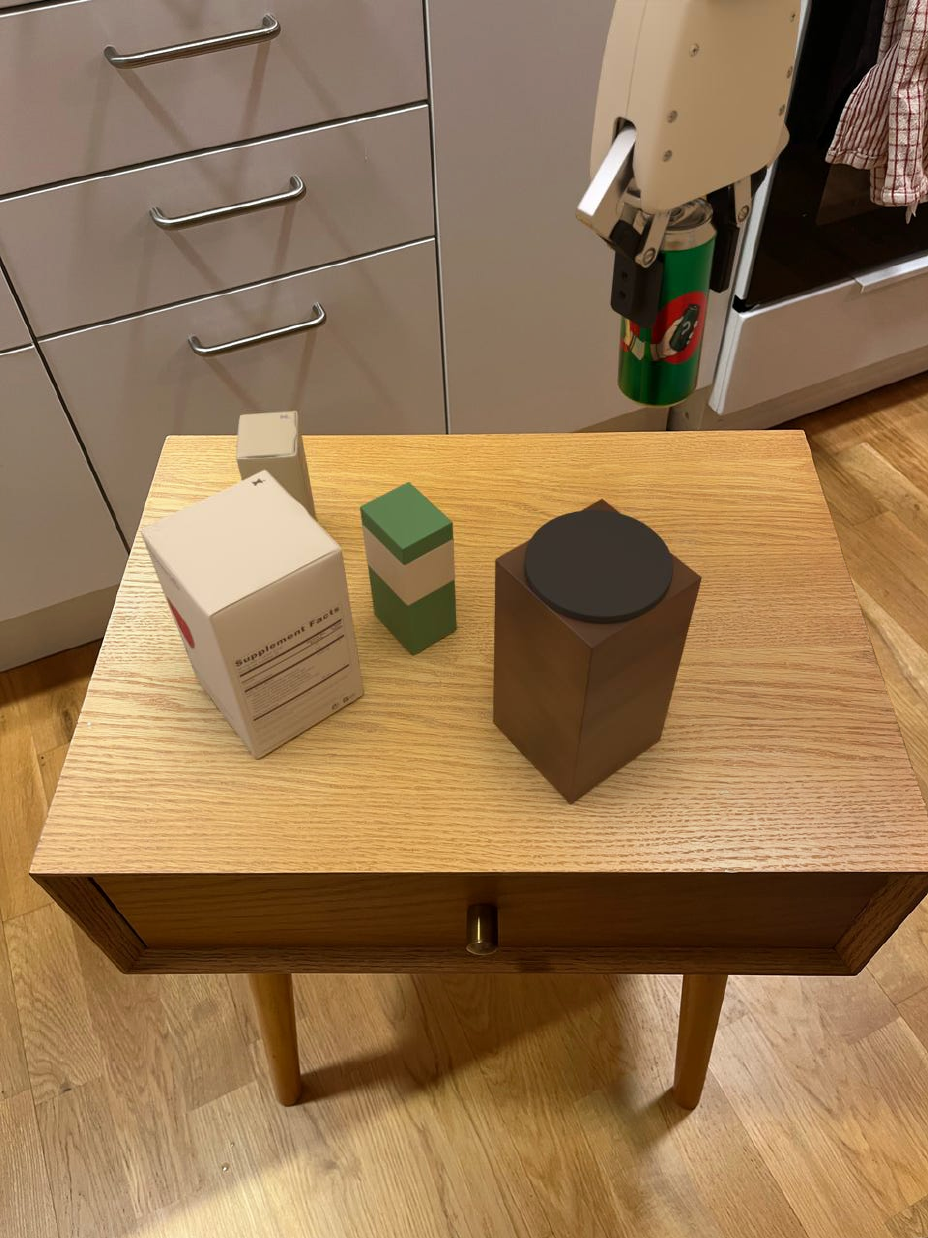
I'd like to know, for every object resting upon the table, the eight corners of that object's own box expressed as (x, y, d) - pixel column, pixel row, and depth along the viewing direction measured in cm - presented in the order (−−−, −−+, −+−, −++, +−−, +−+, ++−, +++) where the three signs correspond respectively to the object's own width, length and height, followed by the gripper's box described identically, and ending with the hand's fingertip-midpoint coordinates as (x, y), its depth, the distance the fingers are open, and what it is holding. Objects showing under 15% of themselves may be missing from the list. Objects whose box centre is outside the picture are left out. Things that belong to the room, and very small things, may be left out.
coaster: (702, 577, 52) (704, 569, 51) (592, 648, 49) (593, 640, 48) (602, 497, 56) (603, 490, 56) (494, 558, 53) (494, 551, 53)
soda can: (708, 377, 63) (734, 198, 53) (676, 421, 60) (697, 241, 51) (638, 357, 65) (651, 181, 55) (603, 399, 62) (611, 222, 53)
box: (265, 520, 78) (239, 410, 70) (318, 517, 79) (298, 406, 70) (262, 567, 75) (234, 457, 66) (317, 563, 75) (296, 453, 67)
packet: (409, 480, 65) (358, 506, 63) (453, 521, 62) (402, 549, 61) (417, 589, 73) (373, 614, 72) (457, 630, 71) (412, 656, 69)
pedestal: (660, 740, 64) (702, 577, 52) (570, 805, 61) (592, 648, 49) (580, 665, 68) (602, 497, 56) (492, 722, 65) (494, 558, 53)
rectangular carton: (191, 677, 68) (133, 525, 57) (300, 618, 72) (266, 463, 60) (255, 764, 63) (205, 617, 52) (368, 696, 67) (345, 544, 55)
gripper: (784, -115, 48) (722, 230, 62) (522, -44, 42) (517, 324, 56) (911, -86, 44) (814, 276, 58) (642, -2, 38) (605, 383, 52)
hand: (669, 297), depth 57 cm, fingers closed on soda can, 5 cm apart
